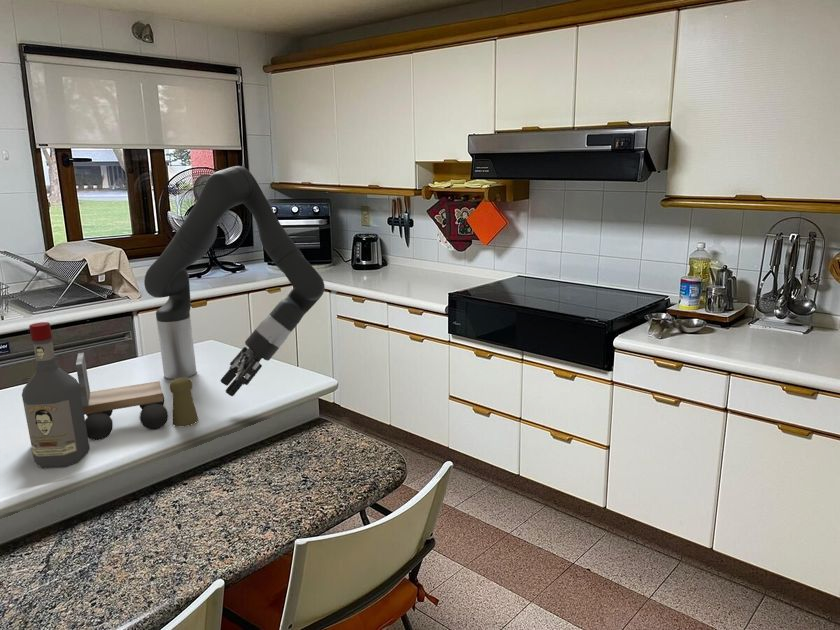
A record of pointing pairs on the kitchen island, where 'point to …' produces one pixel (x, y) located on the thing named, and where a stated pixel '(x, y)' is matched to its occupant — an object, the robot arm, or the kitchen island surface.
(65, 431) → the liquor
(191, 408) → the cork
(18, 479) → the kitchen island surface
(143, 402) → the trolley
